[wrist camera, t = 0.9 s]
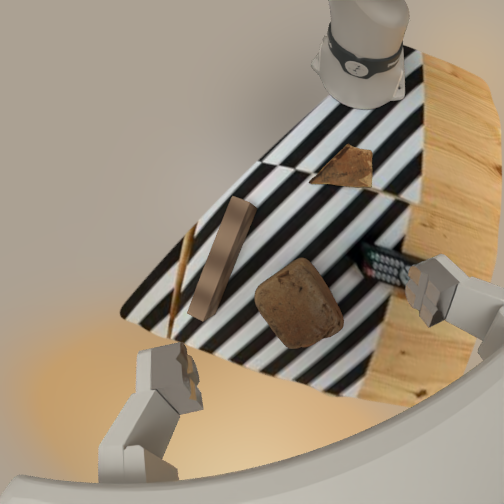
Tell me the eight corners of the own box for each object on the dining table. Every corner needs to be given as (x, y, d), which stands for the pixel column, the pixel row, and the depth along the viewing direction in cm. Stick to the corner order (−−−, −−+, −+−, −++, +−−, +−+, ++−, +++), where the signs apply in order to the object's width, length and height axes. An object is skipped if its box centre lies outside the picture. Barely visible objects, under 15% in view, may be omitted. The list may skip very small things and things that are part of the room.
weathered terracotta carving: (269, 277, 50) (240, 293, 31) (306, 252, 49) (301, 252, 30) (304, 330, 49) (297, 376, 30) (341, 306, 48) (358, 340, 28)
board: (241, 202, 51) (232, 195, 46) (257, 208, 51) (249, 202, 45) (200, 307, 53) (187, 313, 47) (215, 314, 52) (203, 321, 46)
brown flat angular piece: (308, 184, 50) (308, 182, 48) (310, 143, 50) (310, 140, 48) (370, 190, 47) (372, 188, 46) (370, 148, 47) (372, 145, 46)
